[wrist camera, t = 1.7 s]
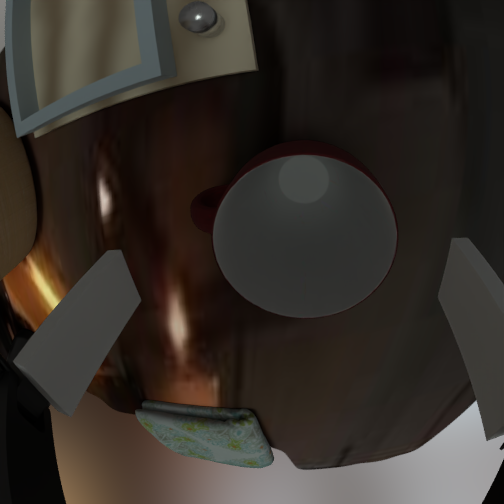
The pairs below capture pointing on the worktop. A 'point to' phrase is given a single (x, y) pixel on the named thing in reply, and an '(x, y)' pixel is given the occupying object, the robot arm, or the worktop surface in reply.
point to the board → (126, 48)
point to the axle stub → (201, 19)
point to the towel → (208, 432)
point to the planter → (15, 198)
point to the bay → (151, 70)
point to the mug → (301, 230)
